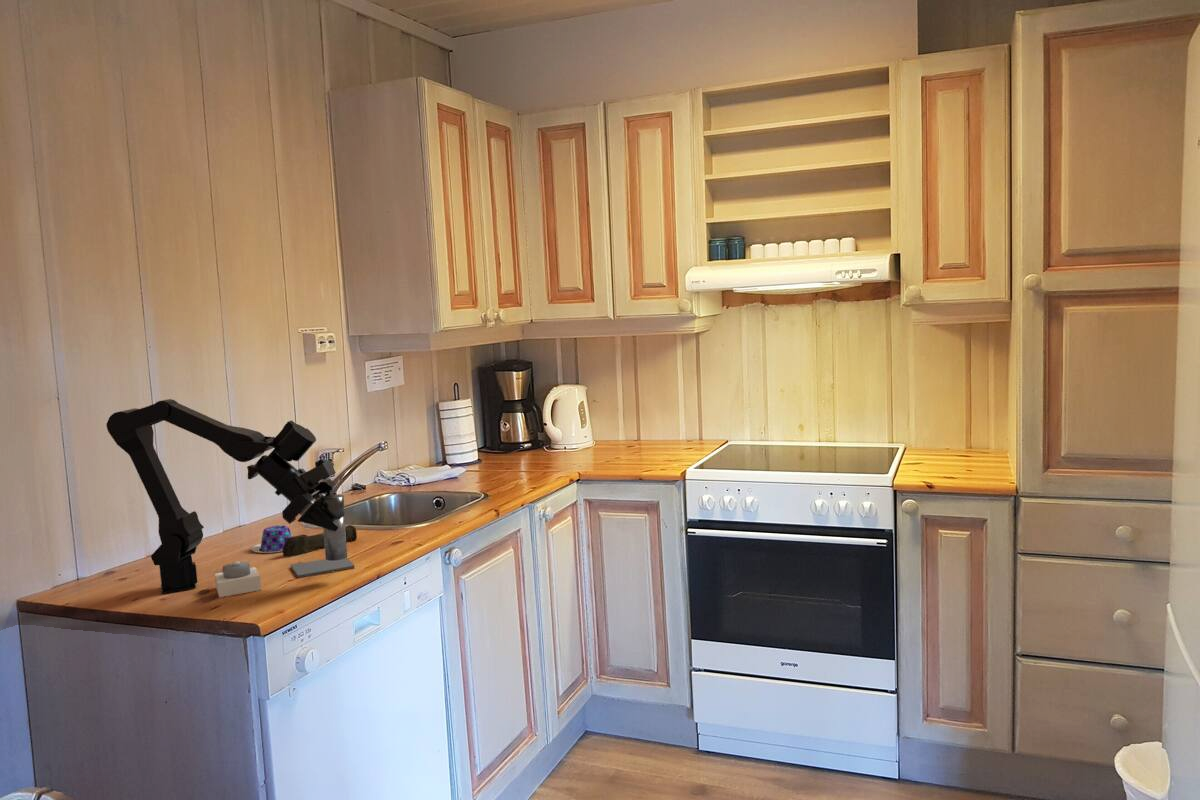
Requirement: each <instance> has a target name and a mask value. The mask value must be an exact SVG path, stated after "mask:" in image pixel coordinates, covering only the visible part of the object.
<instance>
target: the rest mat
mask: <svg viewBox="0 0 1200 800" xmlns="http://www.w3.org/2000/svg"><path fill="white" fill-rule="evenodd" d="M354 567H355V564H354V563H353V562H352V561H351V560H350V559H349V558H348V557H347V558H345V559H341V560H335V561H329V560H326V558H323V559H317V560H311V561H306V562H299V563H293V564H290V569H292V571H293V572H294V574H295V576H296V577H297V578H298V579H301V578H300V577H302V578H307V577H306V576H308V577H311V576H312V575H313V576H317V574H319V575H323V574H322V573H325V574H328V573H327V572H330V573H333V572H332V571H336V572H338V571H337V570H342V571H344V570H343V569H347V570H349V569H348V568H353V569H355V568H354Z"/></svg>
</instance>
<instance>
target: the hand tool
mask: <svg viewBox="0 0 1200 800" xmlns="http://www.w3.org/2000/svg"><path fill="white" fill-rule="evenodd" d="M345 532H346V542H348V541H353V542H354V541H357V538H358V537H357V536H358V535H357V534H358V532H357V529H356V527H355V526H353V525H351V524H349V525H347V526H345ZM323 547H324V548H325V544H324V532H322V533H317V534H315V535H314V534H313V535H312V534H311V535H307V534H300V535H296V536H295V535H294V536H293V535H292V537H290V538H287V540H286V541H285V544H284V547H283V551H282V554H283V555H282V556H283V557H294V556H300V555H305V554H308V553H309V551H312V550H316V549H318V548H323Z"/></svg>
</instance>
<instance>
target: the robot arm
mask: <svg viewBox="0 0 1200 800" xmlns="http://www.w3.org/2000/svg"><path fill="white" fill-rule="evenodd" d="M163 421H165V422H166V423H169V424H171V425H174V426H176V427H178V428H180V429H182V430H184V431H187V432H189V433H191V434H194V435H196V436H198V437H201V438H203V439H205V440H207V441H209V442H211V443H212V444H213V443H214V444H215V445H217V447H219V448H220V449H221V451H222V452H223V453H225V454H226V455H228V456H229V457H231V458H232V459H234V460H235V461H237V462H239V463H246V462H250V461H251V460H252V461H253V460H254V459H256V458H259V457H260V458H259V459H258V460H257V461H256V462H255V463H254V464H250V465H248V466H247V467H246V468H247V480H252V479H255V478H256V477H257V476H258V475H259V476H260V477H261V478H262V479H264V481H266V482H267V483H268V484H269V485H270V486H271V487H273V488H274V489H275V492H274V494H275V495H277V496H278V497H279V496H281V495H282V496H283V497H284V498H286V499H287V500H288V501H289V503H288V505H287V506H286V507H284V509H283V510H282V512H281V513H282V514H281V515H282V519H283V520H284V521H286V522H287V523H288V524H289V525H290V524H293V522H295V521H296V520H297V522H298V523H305V524H307V525H308V524H309V525H312V526H316V527H319V528H322V529H323V528H326V529H329V530H332V531H336V530H337V529H338V528H339V527H338V526H337V524H336V523H335V522H334V521H333V520H332V518H331V517H330V516H329V515H328V514H327V513H326V512H325V511H324V509H323V508H322V505H321V498H320V497H323V496H327V495H334V488H335V487H336V486H337V484H336V483H335V482H334V481H333V480H332V479H331V478H330V477H332V476H334V475H335V474H337V472H336V470H335V468H334V467H335V464H334V463H333V462H331V460H330V459H328V460H327V459H326V458H324V457H323V458H321V459H318V460H317V461H315V462H314V463H315V465H314V467H313V468H311V469H309V470H307V471H306V470H305V469H304V468H298V469H297V468H296V467H294V465H292V464H291V462H292V461H294V462H298V461H300V460H301V458H303V456H304V455H305V454H306V453H307V452H308V451H309V450H310V448H312V446H313V445H314V443H316V442H317V438H316V436H315V435H314V433H313V432H311V430H310V429H308V428H305V427H304V426H302V425H300V424H298V423H295V421H293V420H288V421H287V422H286V423H285V424H284V426H283V428H282V429H281V430H280V431H279V432H278V433H277V435H275V436H266V435H264V434H263V433H261V432H260V431H257V430H254V429H250V428H245V427H241V426H233V425H230V424H229V425H228V424H226V423H223V422H221V421H220V420H218V419H217V420H216V419H215V418H212V417H210V416H208V415H205V414H203V413H201V412H199V411H197V410H194V409H192V408H190V407H188V406H185V405H183V404H182V403H179V402H178V401H177V400H175V399H171V398H169V399H168V398H167V399H162V400H158V401H157V402H155V403H153V404H150V405H148V406H144V407H141V408H131V409H125V410H120V411H117V412H114V413H112V414H110V416H109V418H108V419H107V422H106V424H105V425H106V430H107V432H108V433H109V436H110V437H111V438H112V439H113V441H114V443H115V444H116V445H117V446H118V447H119V448H121V449H122V450H123V451H124V452H125V453H126V454H127V455H128V456H129V457H130V460H131V462H132V464H133V465H134V468H135V470H136V472H137V474H138V477H139V479H140V480H141V483H142V485H143V487H144V489H145V491H146V493H147V495H148V497H149V500H150V502H151V504H152V506H153V509H154V511H155V512H156V515H157V518H158V536H159V539H160V542H161V544H160V545H159V546H158V547H157V549H155V551H154V552H153V553H152V554H151V555H150V558H151V561H152V562H153V564H154V566H159V575H160V591H161V594H168V593H174V592H180V591H187V590H191V589H193V590H194V589H196V585H197V583H198V574H197V573H198V572H197V566H196V562H195V561H193V557H192V555H194V554H195V553H196V551H197V549H198V548H197V547H198V546H199V545H200V544H201V542H202V540H203V538H204V532H203V529H204V525H203V524H202V523H201V522H200V519H199V515H198V513H197V512H196V511H195V510H194V511H191V512H188V511H187V510H185V509H184V508H183V507H182V505H181V502H180V500H179V499H178V496H177V494H176V491H175V489H174V488H173V486H172V483H171V482H170V479H169V477H168V475H167V473H166V471H165V469H164V467H163V464H162V462H161V460H160V457H159V455H158V454H157V451H156V449H155V447H154V429H153V425H156V424H158V423H161V422H163ZM272 449H273V450H272ZM270 450H271V452H270V453H269V454H268V455H267V454H265V453H266V452H267V451H270ZM264 454H265V455H264ZM299 515H300V518H299V519H297V517H298V516H299Z"/></svg>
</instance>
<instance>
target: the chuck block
mask: <svg viewBox="0 0 1200 800" xmlns="http://www.w3.org/2000/svg"><path fill="white" fill-rule="evenodd" d="M214 579H215V580H214V581H215V588H216V592H217V594H218V597H219V598H224V596H225V597H229V596H235V595H241V594H247V593H252V592H256V591H257V592H258V591H261V590H262V583H261V576H260V574H259V572H258V569H257V568H256V567H255V566H253V567H251V565H250V562H248V561H233V562H231V563H227V564H225V565H223V566H222V572H217V573H214Z"/></svg>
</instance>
